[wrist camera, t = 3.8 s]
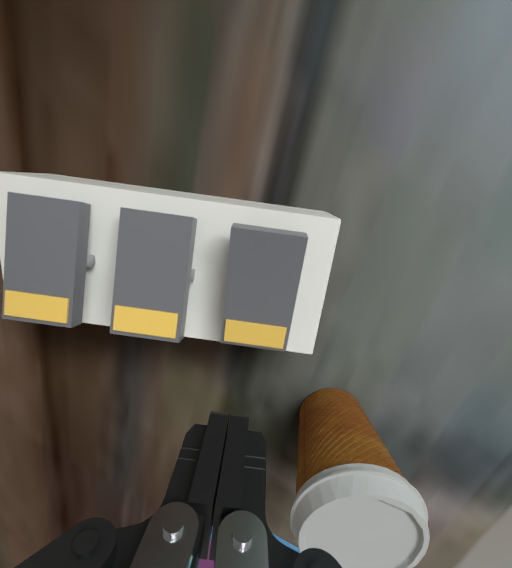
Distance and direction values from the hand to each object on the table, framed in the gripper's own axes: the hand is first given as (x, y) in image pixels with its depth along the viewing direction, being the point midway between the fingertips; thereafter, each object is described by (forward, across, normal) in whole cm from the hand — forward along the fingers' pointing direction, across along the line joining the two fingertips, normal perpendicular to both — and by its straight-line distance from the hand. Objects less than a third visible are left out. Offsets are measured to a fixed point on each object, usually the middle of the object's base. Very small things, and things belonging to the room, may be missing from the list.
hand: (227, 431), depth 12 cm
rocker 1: (+9, +13, -3) cm, 16 cm away
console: (+17, +6, -3) cm, 18 cm away
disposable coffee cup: (+17, -10, +12) cm, 23 cm away
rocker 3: (+9, -1, -3) cm, 10 cm away
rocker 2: (+9, +6, -3) cm, 11 cm away
